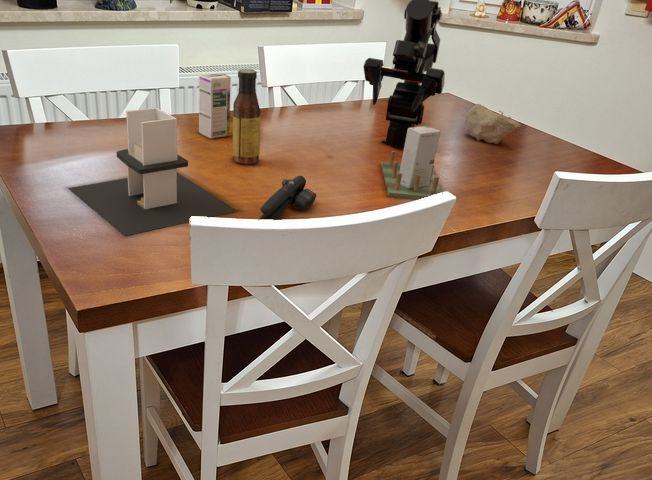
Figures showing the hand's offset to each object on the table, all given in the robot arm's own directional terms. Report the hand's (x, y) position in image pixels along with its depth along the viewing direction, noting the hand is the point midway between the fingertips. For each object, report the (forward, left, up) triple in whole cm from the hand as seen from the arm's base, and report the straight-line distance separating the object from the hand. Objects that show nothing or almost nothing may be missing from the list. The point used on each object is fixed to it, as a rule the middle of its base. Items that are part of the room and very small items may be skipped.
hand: (392, 107), depth 151 cm
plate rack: (+4, +13, -13) cm, 19 cm away
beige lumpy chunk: (-42, 0, -13) cm, 44 cm away
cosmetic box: (+6, +16, -12) cm, 21 cm away
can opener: (+41, +13, -13) cm, 45 cm away
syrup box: (+27, -35, -13) cm, 46 cm away
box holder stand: (+61, -4, -13) cm, 62 cm away
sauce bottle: (+31, -15, -13) cm, 37 cm away
